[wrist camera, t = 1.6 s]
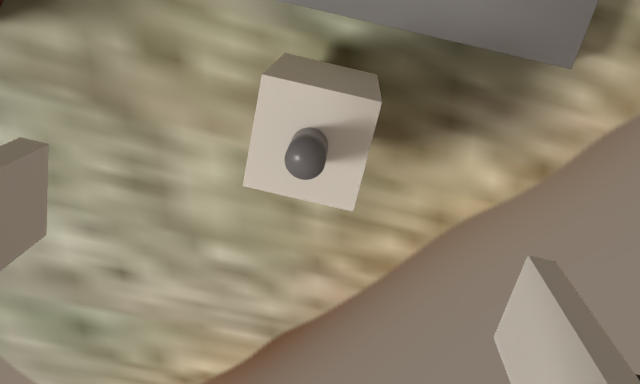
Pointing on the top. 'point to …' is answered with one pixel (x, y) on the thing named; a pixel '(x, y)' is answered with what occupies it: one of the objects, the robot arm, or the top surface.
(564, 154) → the top surface
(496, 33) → the socket
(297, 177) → the plug
